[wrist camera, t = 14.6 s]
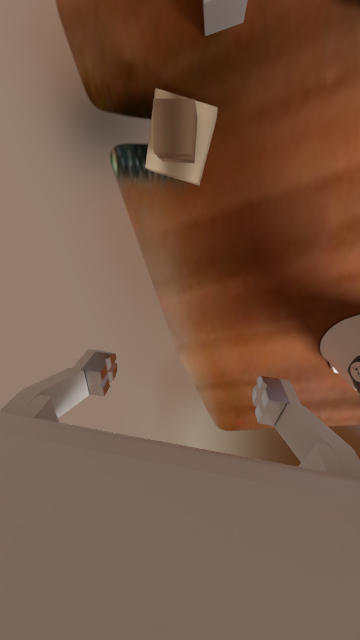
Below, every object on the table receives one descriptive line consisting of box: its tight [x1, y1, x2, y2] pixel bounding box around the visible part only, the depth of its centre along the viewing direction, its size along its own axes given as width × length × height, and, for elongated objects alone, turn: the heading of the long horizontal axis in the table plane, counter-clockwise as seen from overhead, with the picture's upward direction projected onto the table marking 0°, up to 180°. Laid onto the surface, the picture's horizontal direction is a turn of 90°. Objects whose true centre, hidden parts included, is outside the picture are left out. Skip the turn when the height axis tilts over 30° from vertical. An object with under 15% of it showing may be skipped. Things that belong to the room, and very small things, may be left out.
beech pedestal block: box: [145, 88, 218, 186], centre depth 31 cm, size 9×9×4 cm
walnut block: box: [153, 99, 197, 163], centre depth 27 cm, size 5×5×6 cm
